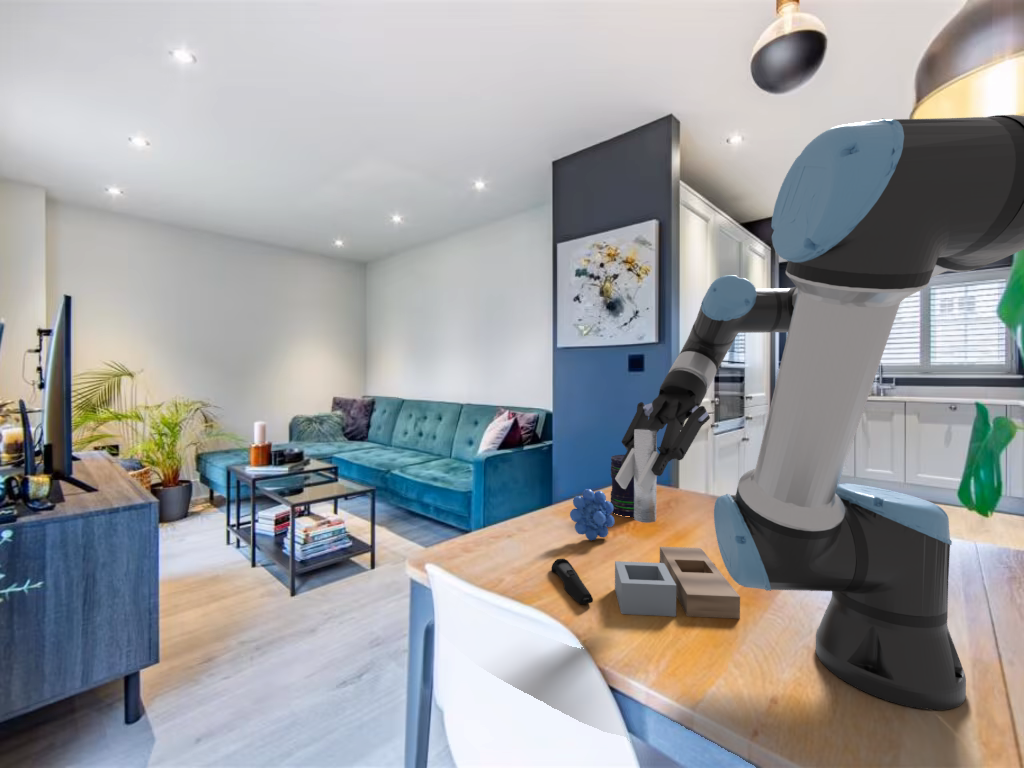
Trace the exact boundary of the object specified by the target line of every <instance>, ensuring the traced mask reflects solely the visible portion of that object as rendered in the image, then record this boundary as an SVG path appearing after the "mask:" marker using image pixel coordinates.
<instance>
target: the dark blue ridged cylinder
mask: <svg viewBox="0 0 1024 768" xmlns="http://www.w3.org/2000/svg"><path fill="white" fill-rule="evenodd" d="M624 456H625V454H616V455H612V456H611V457H610V459H611V462H610V463H611V464H610V477H611V491H610V502H611V503H612V504H613V507H614V510H613V513H615V514H618V515H622V516H630V517H634V475H633V477H632V479H631V480H630V482H629V484H628V486H627V488H626V489H623V488H621V486H620V485H619V484H618V482H617V481H616V480H615V477H616V476H617V474H618V472H619V470H620V469H621V467H622V465H621V461H622V459H623V458H624ZM613 513H612V514H613Z"/></svg>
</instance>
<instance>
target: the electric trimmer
mask: <svg viewBox="0 0 1024 768" xmlns="http://www.w3.org/2000/svg"><path fill="white" fill-rule="evenodd" d="M551 573H556V574H557V576H558V577H559V578H560V579H561V581H562V582H563V587H564V591H566V592H567V593H568V594H569V595H570V596H571V597H572V598H573V599H574V600H575V602H577V604H579V605H581V604H582V605H583V604H591V603H593V602H594V599H593V596H592V594H591V593H590V591H589V589H588V588H587V587H586V585H585V584H584V583H583V581H582V579H581V578H580V575H579V574H578V573H577V571H576V570H575V568H574V567H573V565H572V564H571V563H570V562H569V560H567V559H565V558H558V559H555V560H554V562H553V563H552V565H551Z"/></svg>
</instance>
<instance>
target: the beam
mask: <svg viewBox="0 0 1024 768" xmlns="http://www.w3.org/2000/svg"><path fill="white" fill-rule="evenodd" d="M659 563H664V564H665V566H666V567H667V569H668V571H669V573H670V575H671V576H672V578H673V580H674V582H675V584H676V599H677V600H678V601H679V604H680V605H681V607H682V609H683V611H684V613H685V615H686V616H687V617H697V618H716V619H719V618H720V619H721V618H722V619H735V620H736V619H738V620H739V619H740V618H741V596H740V594H739V593H737V591H736V590H735V589H734V587H733V586H732V585H731V583H730V582H729V581H728V580H727V579H726V577H725V576H724V575H723V573H722V572H721V571H720V569H718V567H717V566H716V565H715V564H714V562H713V561H712V559H710V557H709V556H708V555H707V554H706V552H705V550H703V548H701V547H686V546H685V547H682V546H681V547H680V546H659Z"/></svg>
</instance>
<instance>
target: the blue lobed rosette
mask: <svg viewBox="0 0 1024 768" xmlns="http://www.w3.org/2000/svg"><path fill="white" fill-rule="evenodd" d="M572 504H573V507H574V508H573V509H571V510H570V513H569V517H570V519H571V521H573V522H575V524H574V530H575V531H576V533H577V534H579V535H585V537H586V539H587V540H589V541H592V540H594V541H595V540H597V538H598V537H599V538H606V537H608V535H609V529H608V528H612V527H613V526H614V525H615V523H616V522H615V518H614V516H613V515H612V514H613V513H612V512H613V510H614V507H613V504H612V503H611V500H610V501H609V500H607V496H606V494H605V493H604V492H603V491H602V490H597V491H595V492H594V490H592V489H591V488H586V489H584V490H583V492H582V496H581V495H576V496H575V497H574V498H573V499H572Z"/></svg>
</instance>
